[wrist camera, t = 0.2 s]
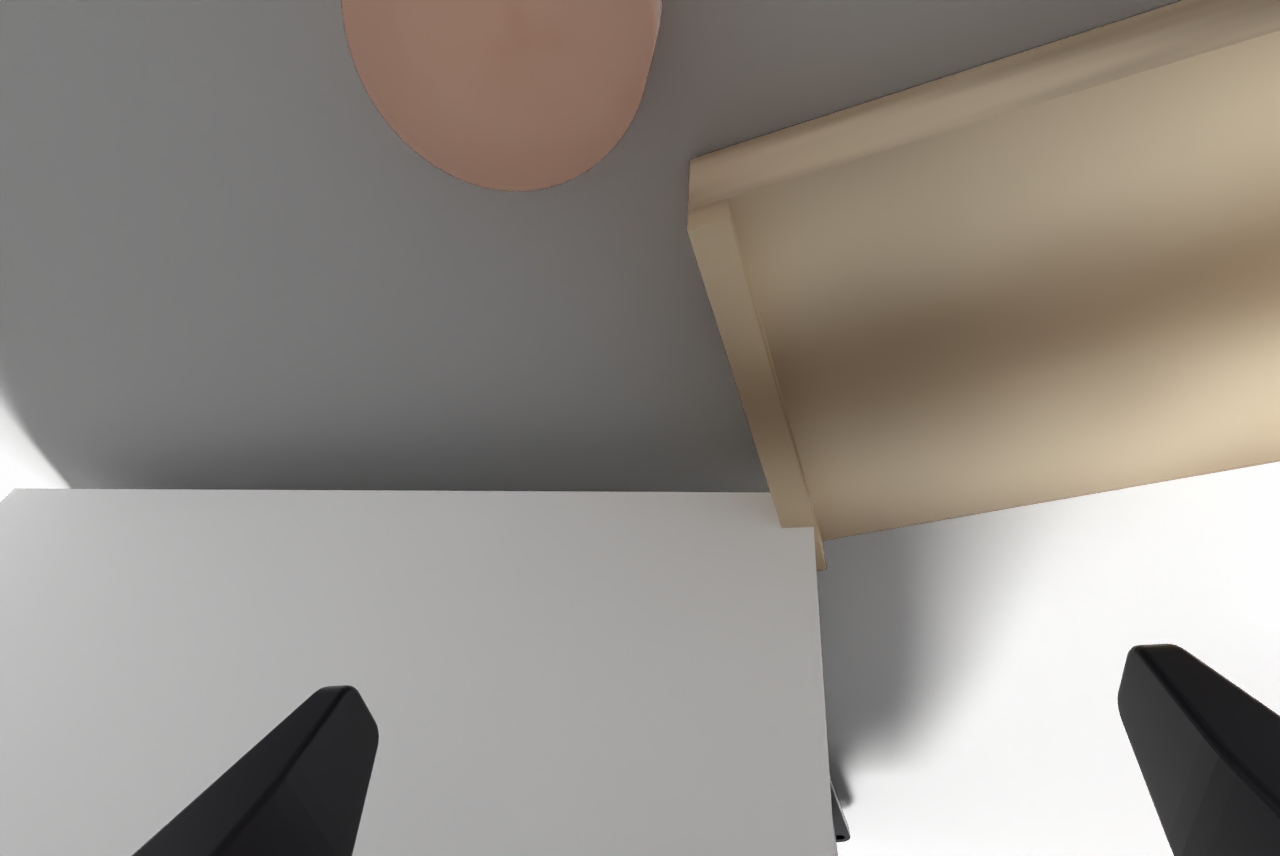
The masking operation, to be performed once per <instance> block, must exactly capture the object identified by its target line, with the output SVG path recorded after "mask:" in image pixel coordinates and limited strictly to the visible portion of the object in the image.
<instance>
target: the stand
mask: <svg viewBox="0 0 1280 856" xmlns="http://www.w3.org/2000/svg"><path fill="white" fill-rule="evenodd" d="M687 233H688V236H689V239H690V242H691V245H692V248H693V251H694V255H695V258H696V261H697V264H698V267H699V270H700V273H701V276H702V280H703V283H704V286H705V289H706V292H707V295H708V298H709V302H710V305H711V308H712V311H713V314H714V317H715V320H716V324H717V327H718V330H719V333H720V336H721V339H722V342H723V346H724V349H725V352H726V355H727V358H728V361H729V364H730V368H731V371H732V374H733V377H734V380H735V383H736V386H737V390H738V393H739V396H740V399H741V402H742V405H743V408H744V412H745V415H746V418H747V421H748V424H749V427H750V430H751V433H752V437H753V440H754V443H755V446H756V449H757V452H758V455H759V459H760V462H761V465H762V468H763V471H764V474H765V477H766V481H767V484H768V487H769V490H770V493H771V496H772V499H773V503H774V506H775V509H776V512H777V515H778V518H779V521H780V525H781V528H797V527H814V540H815V556H816V571H820V570H826V569H827V567H826V561H825V556H824V550H823V544H822V541H825V540H830V539H836V538H842V537H848V536H853V535H859V534H865V533H870V532H876V531H882V530H888V529H893V528H899V527H905V526H911V525H916V524H922V523H928V522H934V521H939V520H945V519H951V518H957V517H962V516H968V515H974V514H980V513H985V512H991V511H997V510H1003V509H1008V508H1014V507H1020V506H1026V505H1031V504H1037V503H1043V502H1049V501H1054V500H1060V499H1066V498H1072V497H1077V496H1083V495H1089V494H1095V493H1100V492H1106V491H1112V490H1118V489H1123V488H1129V487H1135V486H1141V485H1146V484H1152V483H1158V482H1164V481H1169V480H1175V479H1181V478H1187V477H1192V476H1198V475H1204V474H1210V473H1215V472H1221V471H1227V470H1233V469H1238V468H1244V467H1250V466H1255V465H1261V464H1267V463H1273V462H1278V461H1280V0H1182V1H1179V2H1176V3H1173V4H1170V5H1167V6H1163V7H1160V8H1157V9H1154V10H1151V11H1148V12H1145V13H1142V14H1139V15H1136V16H1132V17H1129V18H1126V19H1123V20H1120V21H1117V22H1114V23H1111V24H1108V25H1105V26H1101V27H1098V28H1095V29H1092V30H1089V31H1086V32H1083V33H1080V34H1077V35H1074V36H1070V37H1067V38H1064V39H1061V40H1058V41H1055V42H1052V43H1049V44H1046V45H1043V46H1039V47H1036V48H1033V49H1030V50H1027V51H1024V52H1021V53H1018V54H1015V55H1012V56H1008V57H1005V58H1002V59H999V60H996V61H993V62H990V63H987V64H984V65H981V66H977V67H974V68H971V69H968V70H965V71H962V72H959V73H956V74H953V75H950V76H946V77H943V78H940V79H937V80H934V81H931V82H928V83H925V84H922V85H919V86H915V87H912V88H909V89H906V90H903V91H900V92H897V93H894V94H891V95H888V96H884V97H881V98H878V99H875V100H872V101H869V102H866V103H863V104H860V105H857V106H853V107H850V108H847V109H844V110H841V111H838V112H835V113H832V114H829V115H826V116H822V117H819V118H816V119H813V120H810V121H807V122H804V123H801V124H798V125H795V126H791V127H788V128H785V129H782V130H779V131H776V132H773V133H770V134H767V135H764V136H760V137H757V138H754V139H751V140H748V141H745V142H742V143H739V144H736V145H733V146H729V147H726V148H723V149H720V150H717V151H714V152H711V153H708V154H705V155H702V156H699V157H695V158H692V159H690V175H689V198H688V222H687ZM810 497H812V506H811V500H810ZM812 509H813V512H812Z"/></svg>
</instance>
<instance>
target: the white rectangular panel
mask: <svg viewBox="0 0 1280 856" xmlns="http://www.w3.org/2000/svg"><path fill="white" fill-rule="evenodd" d="M810 500H811V506H812V497H810ZM812 512H813V509H812ZM342 685H350V686H353V687H354V688H356V689H357V690H358V691H359V693H360V695H361V697H362V698H363V700H364V702H365V704H366V706H367V707H368V709H369V711H370V713H371V714H372V716H373V718H374V720H375V721H376V724H377V726H378V731H379V743H378V748H377V752H376V757H375V761H374V765H373V769H372V774H371V778H370V782H369V786H368V791H367V795H366V799H365V803H364V808H363V812H362V816H361V820H360V825H359V829H358V833H357V837H356V842H355V846H354V850H353V854H352V856H835V850H834V835H833V819H832V804H831V788H830V773H829V757H828V742H827V726H826V711H825V695H824V680H823V664H822V649H821V633H820V618H819V602H818V587H817V571H816V556H815V540H814V527H797V528H781V525H780V521H779V518H778V515H777V512H776V509H775V506H774V503H773V499H772V496H771V493H770V492H589V491H393V490H197V489H14V490H13V491H12V492H11V493H10V494H9V495H8V496H7V497H6V498H5V499H4V500H3V501H2V502H1V503H0V856H132V855H133V854H134V853H135V852H136V851H137V850H138V849H140V848H141V847H142V846H143V845H144V844H145V843H146V842H147V841H148V840H150V839H151V838H152V837H153V836H154V835H155V834H156V833H157V832H159V831H160V830H161V829H162V828H163V827H164V826H165V825H166V824H168V823H169V822H170V821H171V820H172V819H173V818H174V817H175V816H176V815H178V814H179V813H180V812H181V811H182V810H183V809H184V808H185V807H187V806H188V805H189V804H190V803H191V802H192V801H193V800H194V799H196V798H197V797H198V796H199V795H200V794H201V793H202V792H203V791H204V790H206V789H207V788H208V787H209V786H210V785H211V784H212V783H213V782H215V781H216V780H217V779H218V778H219V777H220V776H221V775H222V774H224V773H225V772H226V771H227V770H228V769H229V768H230V767H231V766H233V765H234V764H235V763H236V762H237V761H238V760H239V759H240V758H241V757H243V756H244V755H245V754H246V753H247V752H248V751H249V750H250V749H252V748H253V747H254V746H255V745H256V744H257V743H258V742H259V741H261V740H262V739H263V738H264V737H265V736H266V735H267V734H268V733H269V732H271V731H272V730H273V729H274V728H275V727H276V726H277V725H278V724H280V723H281V722H282V721H283V720H284V719H285V718H286V717H287V716H289V715H290V714H291V713H292V712H293V711H294V710H295V709H296V708H298V707H299V706H300V705H301V704H302V703H303V702H304V701H305V700H306V699H308V698H309V697H310V696H311V695H312V694H313V693H314V692H316V691H317V690H319V689H320V688H323V687H327V686H342Z"/></svg>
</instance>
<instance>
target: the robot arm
mask: <svg viewBox="0 0 1280 856" xmlns="http://www.w3.org/2000/svg"><path fill="white" fill-rule="evenodd" d="M1118 708H1119V712H1120V716H1121V719H1122V722H1123V725H1124V727H1125V730H1126V732H1127V735H1128V738H1129V740H1130V743H1131V746H1132V748H1133V751H1134V753H1135V756H1136V759H1137V761H1138V764H1139V766H1140V769H1141V772H1142V774H1143V777H1144V780H1145V782H1146V785H1147V787H1148V790H1149V793H1150V795H1151V798H1152V800H1153V803H1154V806H1155V808H1156V811H1157V814H1158V816H1159V819H1160V821H1161V824H1162V827H1163V829H1164V832H1165V834H1166V837H1167V840H1168V842H1169V845H1170V847H1171V849H1172V852H1173V854H1174V856H1280V716H1279V715H1278V714H1276V713H1275V712H1273V711H1272V710H1270V709H1269V708H1268V707H1266V706H1265V705H1263V704H1262V703H1260V702H1259V701H1258V700H1256V699H1255V698H1253V697H1252V696H1250V695H1249V694H1248V693H1246V692H1245V691H1243V690H1242V689H1240V688H1239V687H1238V686H1236V685H1235V684H1233V683H1232V682H1230V681H1229V680H1227V679H1226V678H1225V677H1223V676H1222V675H1220V674H1219V673H1217V672H1216V671H1215V670H1213V669H1212V668H1210V667H1209V666H1207V665H1206V664H1205V663H1203V662H1202V661H1200V660H1199V659H1197V658H1196V657H1195V656H1193V655H1192V654H1190V653H1189V652H1187V651H1186V650H1184V649H1183V648H1181V647H1178V646H1176V645H1173V644H1154V645H1138V646H1134V647H1133V648H1132V649H1131V650H1130V651H1129V652H1128V655H1127V659H1126V663H1125V667H1124V671H1123V675H1122V680H1121V684H1120V688H1119V692H1118ZM378 743H379V731H378V726H377V724H376V721H375V720H374V718H373V716H372V714H371V713H370V711H369V709H368V707H367V706H366V704H365V702H364V700H363V698H362V697H361V695H360V693H359V691H358V690H357V689H356V688H354V687H353V686H350V685H342V686H327V687H323V688H320V689H319V690H317V691H316V692H314V693H313V694H312V695H311V696H310V697H309V698H308V699H306V700H305V701H304V702H303V703H302V704H301V705H300V706H299V707H298V708H296V709H295V710H294V711H293V712H292V713H291V714H290V715H289V716H287V717H286V718H285V719H284V720H283V721H282V722H281V723H280V724H278V725H277V726H276V727H275V728H274V729H273V730H272V731H271V732H269V733H268V734H267V735H266V736H265V737H264V738H263V739H262V740H261V741H259V742H258V743H257V744H256V745H255V746H254V747H253V748H252V749H250V750H249V751H248V752H247V753H246V754H245V755H244V756H243V757H241V758H240V759H239V760H238V761H237V762H236V763H235V764H234V765H233V766H231V767H230V768H229V769H228V770H227V771H226V772H225V773H224V774H222V775H221V776H220V777H219V778H218V779H217V780H216V781H215V782H213V783H212V784H211V785H210V786H209V787H208V788H207V789H206V790H204V791H203V792H202V793H201V794H200V795H199V796H198V797H197V798H196V799H194V800H193V801H192V802H191V803H190V804H189V805H188V806H187V807H185V808H184V809H183V810H182V811H181V812H180V813H179V814H178V815H176V816H175V817H174V818H173V819H172V820H171V821H170V822H169V823H168V824H166V825H165V826H164V827H163V828H162V829H161V830H160V831H159V832H157V833H156V834H155V835H154V836H153V837H152V838H151V839H150V840H148V841H147V842H146V843H145V844H144V845H143V846H142V847H141V848H140V849H138V850H137V851H136V852H135V853H134V854H133V855H132V856H352V854H353V850H354V846H355V842H356V837H357V833H358V829H359V825H360V820H361V816H362V812H363V808H364V803H365V799H366V795H367V791H368V786H369V782H370V778H371V774H372V769H373V765H374V761H375V757H376V752H377V748H378ZM830 788H831V804H832V819H833V835H834V850H835V856H838V853H837V845H836V842H843V841H847V840H849V839H850V832H849V827H848V824H847V822H846V819H845V816H844V813H843V811H842V808H841V805H840V803H839V800H838V797H837V795H836V792H835V789H834V786H833V784H832V781H831V778H830Z"/></svg>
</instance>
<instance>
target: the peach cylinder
mask: <svg viewBox="0 0 1280 856" xmlns="http://www.w3.org/2000/svg"><path fill="white" fill-rule="evenodd" d="M341 5H342V14H343V22H344V29H345V33H346V37H347V42H348V46H349V50H350V53H351V56H352V59H353V62H354V64H355V67H356V70H357V72H358V75H359V77H360V79H361V81H362V83H363V85H364V87H365V89H366V91H367V93H368V95H369V96H370V98H371V100H372V101H373V103H374V105H375V106H376V108H377V110H378V111H379V112H380V114H381V115H382V116H383V118H384V119H385V120H386V122H387V123H388V124H389V126H390V127H391V128H392V129H393V130H394V131H395V132H396V134H397V135H398V136H399V137H400V138H401V139H402V140H403V141H404V142H405V143H406V144H407V145H408V146H409V147H411V148H412V149H413V150H414V151H415V152H416V153H417V154H419V155H420V156H421V157H422V158H424V159H425V160H427V161H428V162H430V163H431V164H432V165H434V166H435V167H437V168H439V169H440V170H442V171H444V172H446V173H448V174H449V175H451V176H453V177H456V178H458V179H460V180H463V181H465V182H468V183H470V184H474V185H477V186H481V187H485V188H488V189H495V190H502V191H532V190H541V189H545V188H549V187H553V186H557V185H559V184H562V183H564V182H567V181H569V180H572V179H574V178H576V177H577V176H579V175H581V174H583V173H584V172H586V171H588V170H589V169H591V168H592V167H593V166H594V165H596V164H597V163H598V162H599V161H601V160H602V159H603V158H604V157H605V156H606V155H607V154H608V153H609V152H610V151H611V150H612V149H613V148H614V147H615V146H616V144H617V143H618V142H619V140H620V139H621V137H622V136H623V135H624V133H625V132H626V131H627V129H628V127H629V125H630V123H631V122H632V120H633V118H634V116H635V114H636V112H637V109H638V107H639V104H640V102H641V99H642V96H643V94H644V90H645V86H646V82H647V78H648V74H649V69H650V65H651V61H652V57H653V53H654V49H655V45H656V41H657V37H658V32H659V28H660V21H661V13H662V0H341Z"/></svg>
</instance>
